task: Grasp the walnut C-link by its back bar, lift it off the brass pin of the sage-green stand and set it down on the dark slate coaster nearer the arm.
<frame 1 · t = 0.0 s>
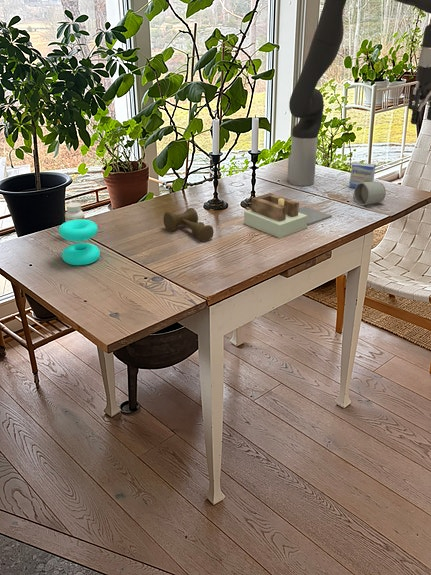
hand: (422, 122, 174), 29 cm above the table, tool pointing down, fingers open, 8 cm apart
brown dog bone: (188, 232, 175), on the table
donuts: (81, 259, 158), on the table
stand: (275, 225, 179), on the table
c link: (274, 213, 178), point 4 cm above the table, touching stand
supplement bottle: (77, 236, 172), on the table
coaster: (306, 216, 186), on the table
medicine box: (360, 188, 213), on the table
ceramic mug: (365, 203, 199), on the table
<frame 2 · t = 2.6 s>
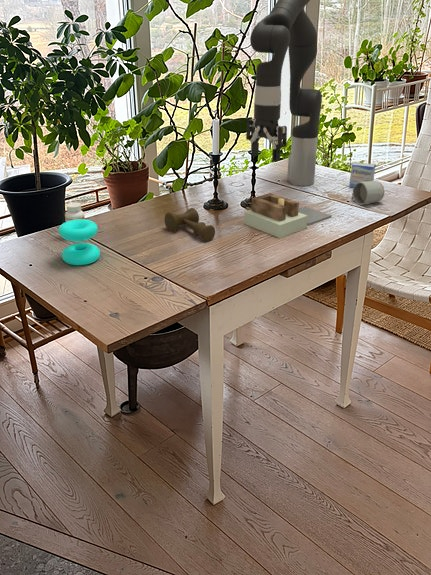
hand: (265, 158, 174), 20 cm above the table, tool pointing down, fingers open, 8 cm apart
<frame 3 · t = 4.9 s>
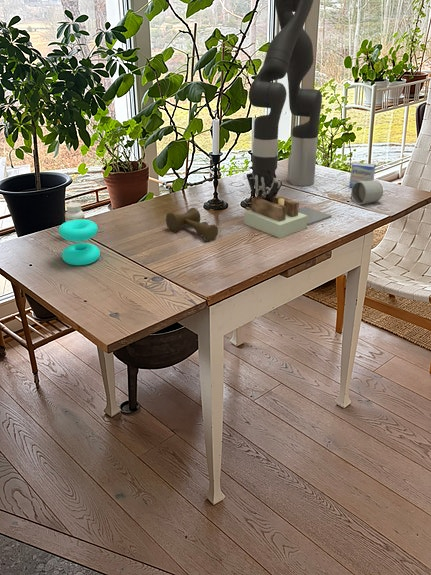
hand: (262, 208, 181), 4 cm above the table, tool pointing down, fingers closed on c link, 2 cm apart
c link: (274, 213, 178), point 4 cm above the table, touching gripper, stand
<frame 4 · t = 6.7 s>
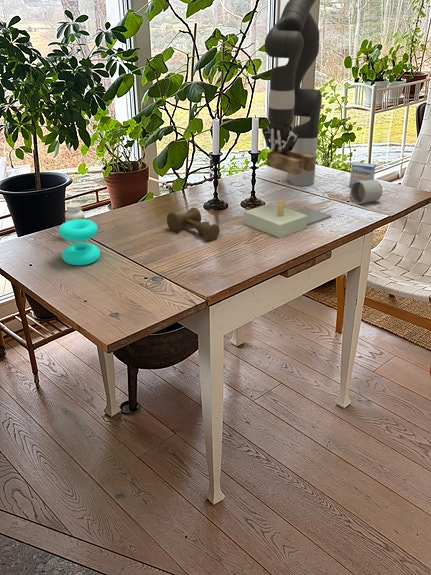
hand: (278, 163, 178), 17 cm above the table, tool pointing down, fingers closed on c link
c link: (290, 167, 175), point 17 cm above the table, touching gripper
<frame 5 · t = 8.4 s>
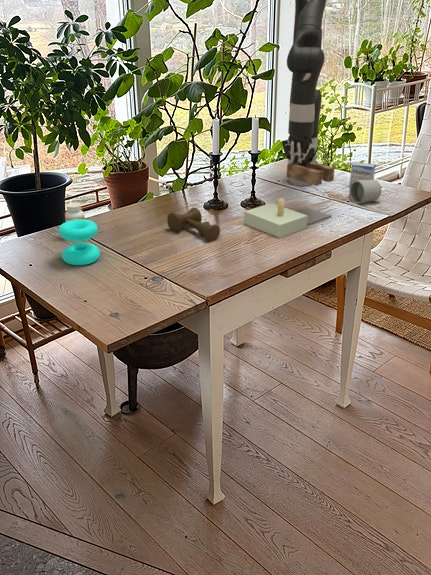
hand: (297, 174, 184), 13 cm above the table, tool pointing down, fingers closed on c link
c link: (309, 178, 181), point 12 cm above the table, touching gripper
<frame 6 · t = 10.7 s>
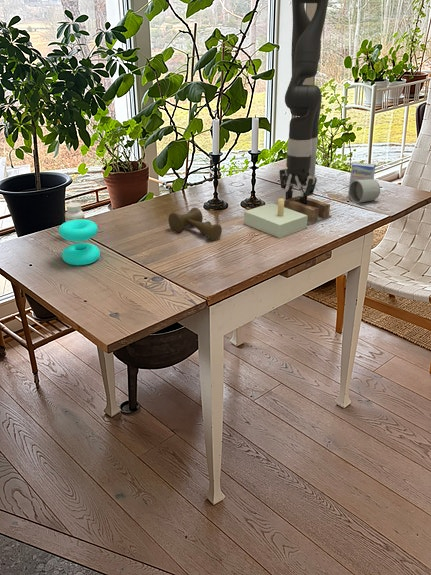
hand: (295, 204, 188), 3 cm above the table, tool pointing down, fingers open, 5 cm apart
c link: (306, 214, 186), point 1 cm above the table, touching coaster
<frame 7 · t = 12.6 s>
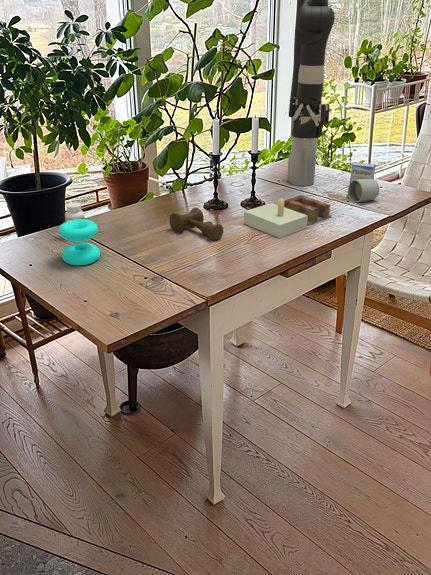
hand: (306, 134, 182), 24 cm above the table, tool pointing down, fingers open, 8 cm apart
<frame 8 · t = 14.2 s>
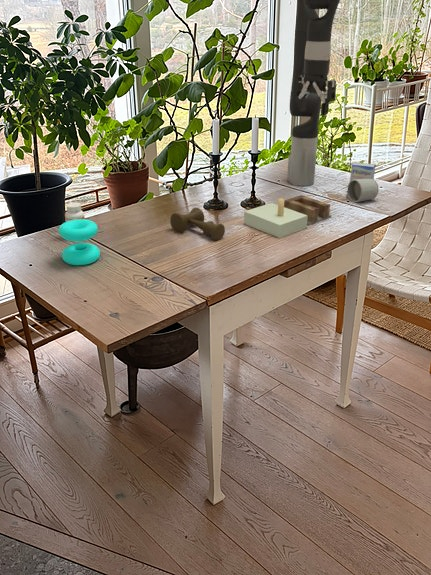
hand: (313, 113, 181), 30 cm above the table, tool pointing down, fingers open, 8 cm apart
at the end: c link inside the target area (0.4 cm from its centre), point 0.6 cm above the table; c link touching coaster; the gripper is holding nothing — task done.
